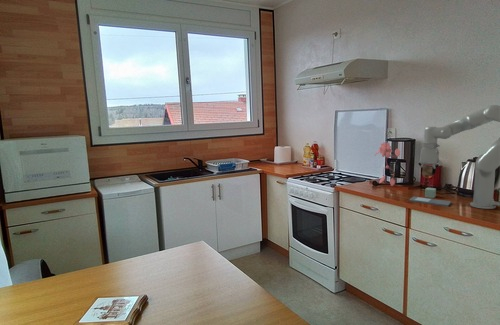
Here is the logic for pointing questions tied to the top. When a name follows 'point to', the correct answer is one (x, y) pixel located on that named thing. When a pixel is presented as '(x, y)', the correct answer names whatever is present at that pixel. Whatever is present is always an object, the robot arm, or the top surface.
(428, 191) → the green cube
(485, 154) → the robot arm
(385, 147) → the pink flower sprig
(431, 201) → the baseplate
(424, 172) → the walnut cube
